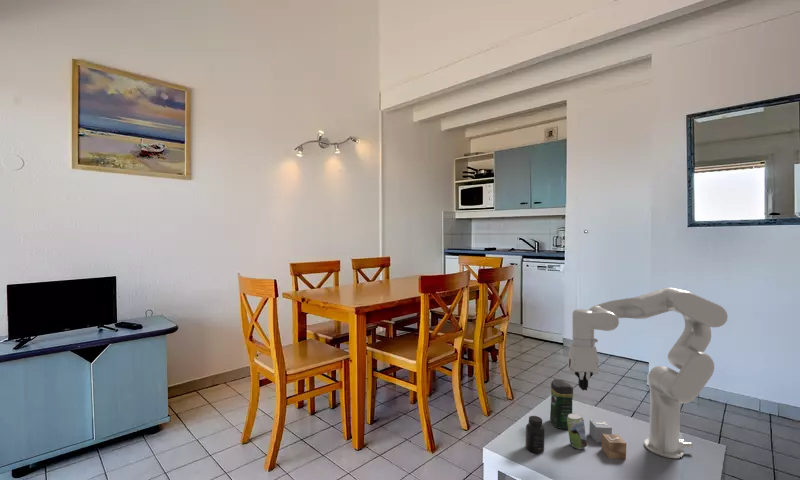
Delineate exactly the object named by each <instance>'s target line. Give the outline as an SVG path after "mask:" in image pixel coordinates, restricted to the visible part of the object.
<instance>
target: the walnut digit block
mask: <svg viewBox="0 0 800 480" xmlns="http://www.w3.org/2000/svg"><path fill="white" fill-rule="evenodd" d="M601 450H602V452H604V454H605V455H606V456H607V458H608V459H616V460H617V459H618V460H626V459H627V442H626V441H625V440H624V439H623V438H622V437H621V436H620V435H619V434H615V433H614V434H613V433H612V434H602V442H601Z"/></svg>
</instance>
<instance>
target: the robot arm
mask: <svg viewBox="0 0 800 480" xmlns="http://www.w3.org/2000/svg"><path fill="white" fill-rule="evenodd" d="M668 312H675V313H677V314H681V315H682V317H683V319H684V329H683V331H682V332H681V334H680V336H679V338H678V339H677V340H676V342H675V343H674V344H673V346H672V347H671V349H670V350H669V352H668V354H667V360H668V362H669V363H670V365H672V366H674V367H675V368H676V369H677V370H679V372H678V371H676V370H674V369H672V368H670V367H667V366H664V365H657V366H654V367H652V368H651V369H650V370H649V372H648V379H647V380H648V386H649V393H650V394H649V395H650V398H649V399H650V401H649V403H650V404H649V429H648V431H649V433H648V438H646V439H644V441H643V444H644V447H645V448H646V449H648V451H650V452H651V453H653V454H655V455H657V456H661V457H663V458H669V459H681V458H683V457H684V456H683V455H685V452H684V450H683V449H685V448H687V449H692V448H693V446H694V445H693V443H692V442H689V441H685V440H684V439H681V438H680V429H681V428H680V427H681V426H680V425H681V422H680V421H681V404H688V403H691V402H693V401H694V400H695V399H696V398H697V396H698V395H699V394H700V393H701V391H702V390H703V389H704V387H706V385H707V383H708V382H709V381H710V379H711V378H712V376H713V374H714V371H715V363H714V360H713V358H712V357H711V356H710V355H708V354H707V353H706V352H705V351H706V349H707V348H708V346H709V344H710V343H711V340H712V329H711V328H720V327H723V326H724V325H725V324H726V323H727V321H728V313H727V311H726V309H725V308H724V307H723V306H721V304H720V305H719V304H718V303H715V302H714V301H711V300H709V299H706V298H704V297H701V296H700V295H697V294H695V293H692V292H690V291H688V290H683V289H679V288H675V287H664V288H661V289H657V290H653V291H650V292H647V293H645V294H644V293H643V294H641V295H638V296H634V297H629V298H627V297H626V298H622V299H615V300H609V301H605V302H602V303H599V304H596V305H593V306H591V307H590V308H588V309H585V308H578V309H577V308H576V309H574V310H573V312H572V343H570V344H569V349H568V356H567V367H568V373H569V374H571V375H574V376H576V377H577V378H578V387H579V388H580V390H581V391H588V387H589V381H590V379H591V377H592V376H594V375H595V376H596V375H598V374H599V357H598V351H597V346H596V343H598V342H599V340H598V338H595V330H597V331H603V332H604V331H605V332H610V331H611V332H612V331H614V330H616V329H617V327H619V324H620V320H619V319H636V320H644V319H648V318H652V317H654V316H658V315H661V314H664V313H668ZM682 456H683V457H682ZM680 457H681V458H680Z"/></svg>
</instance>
